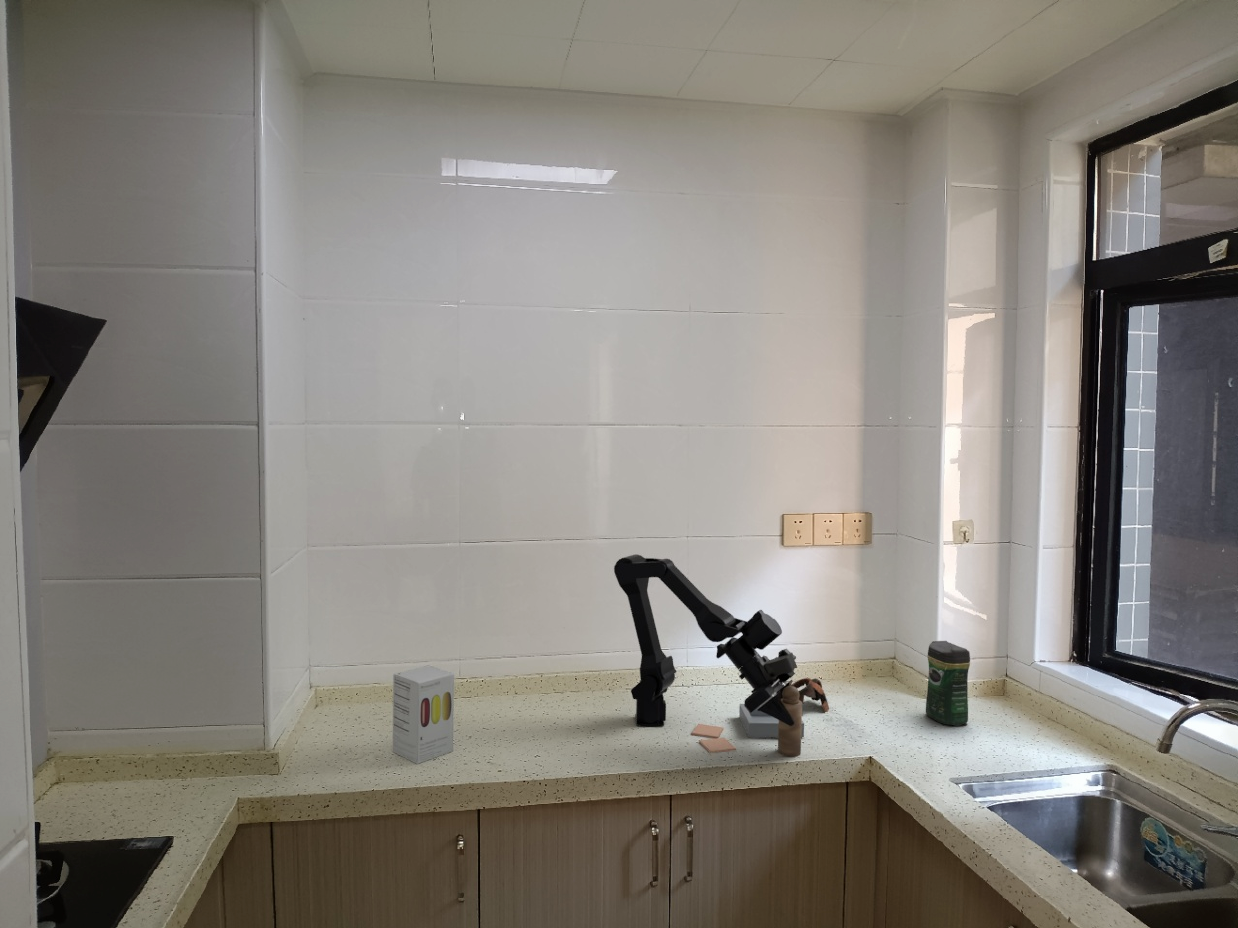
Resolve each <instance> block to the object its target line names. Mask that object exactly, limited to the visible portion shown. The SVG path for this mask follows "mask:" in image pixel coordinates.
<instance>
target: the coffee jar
mask: <svg viewBox="0 0 1238 928" xmlns="http://www.w3.org/2000/svg"><path fill="white" fill-rule="evenodd" d="M927 663H928V680H927V690H926V691H927V692H926V701H925V714H926V716H928V717H929V718H931V719H932V720H934V721H936V722H938V723H940V724H943V725H951V726H952V725H953V726H962V725H964V724H967V723H968V722H969V702H968V701H969V697H968V695H969V694H968V693H969V692H968V691H969V689H968V681H969V680H968V675H969V669H970V666H971V653H970V650H968V649H967V648H966V647H961V646H959V645H956V644H955V643H951V642H948V641H947V640H934V641H931V643H929V645H928V650H927Z"/></svg>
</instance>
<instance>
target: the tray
mask: <svg viewBox="0 0 1238 928" xmlns="http://www.w3.org/2000/svg"><path fill="white" fill-rule="evenodd" d="M744 704H745V703H739V707H738V708H739V709H738V710H739V716H738V717H739V720H740V722H741V724H742V726H743V728H744V730H745V732H746V734H747V737H748V738H755V739H757V738H758V739H759V738H763V739H765V738H766V739H767V738H768V739H778V738H777V737H778V728H779V720H778V719H776V718H774V717H772V716H770V715H768V714H766V713H763V712H761V711H757V709H758V708H759V707H760V706H761V705H760V706H759V707H758V708H756V709H755V710H754V711H753V712H751V713H750V712H749V711H748V710H747V709H746V707H745V706H744ZM771 737H773V738H771ZM774 737H775V738H774ZM801 737H804V738H805V723H804V721H803V720H802V725H801Z"/></svg>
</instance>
